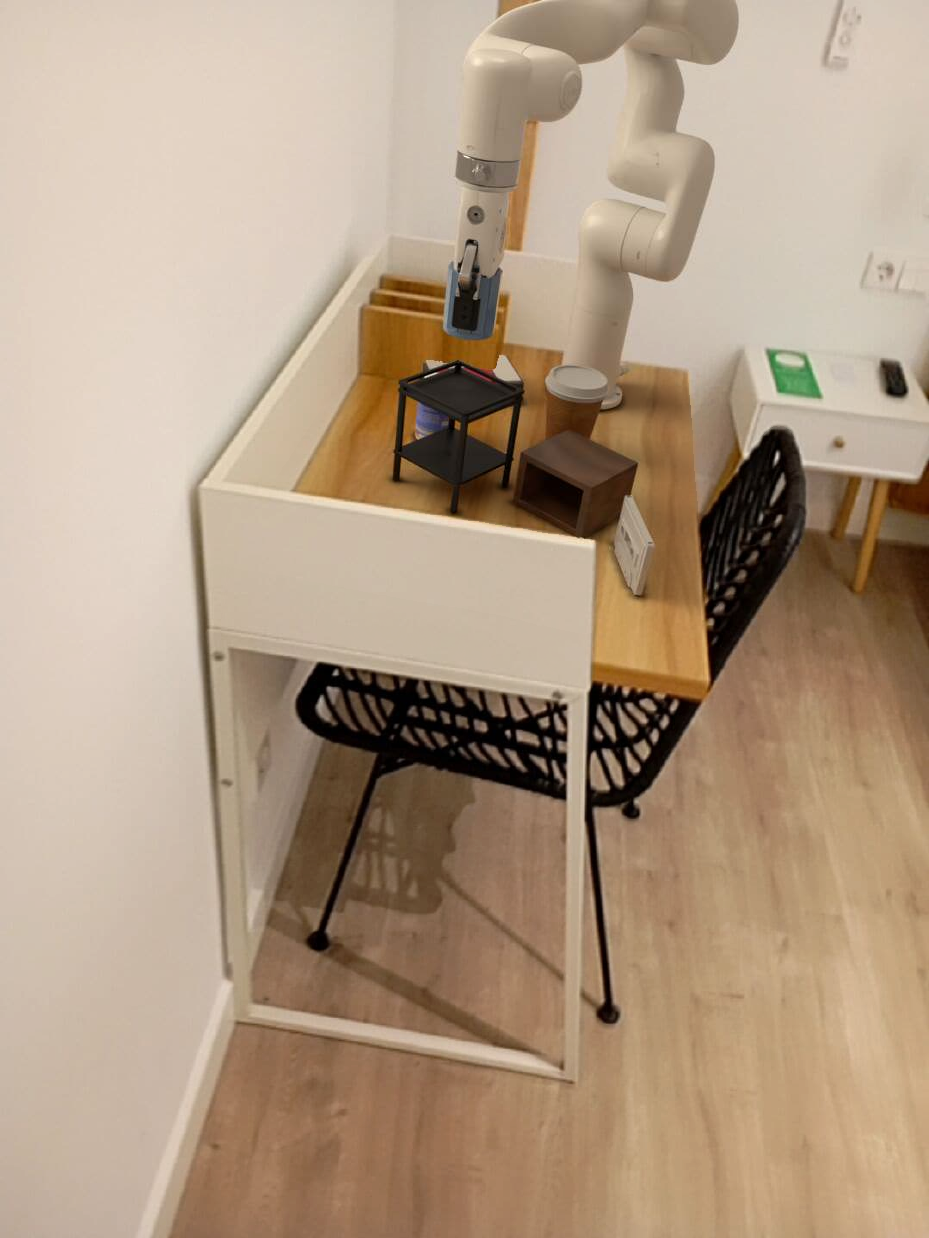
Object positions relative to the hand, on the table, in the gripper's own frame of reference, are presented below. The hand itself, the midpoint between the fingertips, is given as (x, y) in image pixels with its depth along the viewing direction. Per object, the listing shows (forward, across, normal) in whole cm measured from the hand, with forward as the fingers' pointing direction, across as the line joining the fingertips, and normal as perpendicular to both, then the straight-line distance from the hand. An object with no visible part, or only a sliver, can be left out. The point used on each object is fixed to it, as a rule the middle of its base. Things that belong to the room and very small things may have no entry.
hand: (469, 317), depth 129 cm
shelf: (+24, 0, -17) cm, 30 cm away
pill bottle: (+24, +13, +6) cm, 28 cm away
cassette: (+25, -13, -26) cm, 38 cm away
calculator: (+24, +32, +3) cm, 41 cm away
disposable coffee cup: (+24, +17, -14) cm, 33 cm away
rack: (+24, 0, 0) cm, 24 cm away
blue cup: (+2, 0, 0) cm, 2 cm away
